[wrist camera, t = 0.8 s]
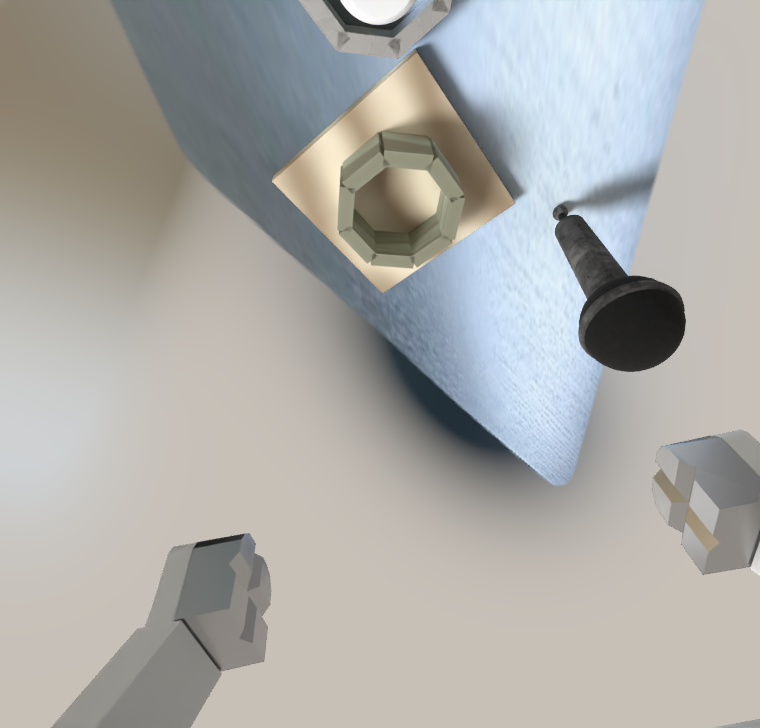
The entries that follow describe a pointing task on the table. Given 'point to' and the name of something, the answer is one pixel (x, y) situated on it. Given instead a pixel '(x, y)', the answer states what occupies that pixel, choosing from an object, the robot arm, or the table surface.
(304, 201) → the socket board
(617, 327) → the microphone
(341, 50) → the holder ring
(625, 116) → the table surface
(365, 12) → the supplement bottle
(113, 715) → the robot arm
